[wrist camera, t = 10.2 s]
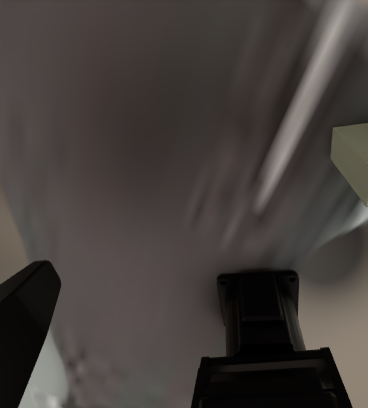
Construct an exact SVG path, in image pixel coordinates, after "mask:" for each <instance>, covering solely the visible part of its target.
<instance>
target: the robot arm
mask: <svg viewBox="0 0 368 408" xmlns="http://www.w3.org/2000/svg"><path fill="white" fill-rule="evenodd" d="M292 277H293V278H292ZM222 281H224V282H222ZM217 287H218V293H219V299H220V305H221V311H222V317H223V322H224V326H225V327H226V357H214V358H210V357H202V358H201V363H200V368H199V369H198V373H197V379H196V384H195V389H194V394H193V399H192V405H191V408H352V405H351V402H350V399H349V397H348V394H347V392H346V389H345V387H344V384H343V382H342V379H341V377H340V374H339V372H338V369H337V366H336V364H335V361H334V359H333V356H332V354H331V351H330V349H329V347H324V348H320V349H318V350H306V349H305V345H304V341H303V337H302V333H301V329H300V325H299V321H298V295H299V294H298V293H299V277H298V274H297V273H296V272H274V273H256V274H237V275H221V276H219V277H218V278H217ZM60 289H61V280H60V278H59V276H58V274H57V272H56V271H55V269H54V267H53V265H52V264H51V262H49V261H47V260H42V261H35V262H33V263H31V264H30V265H28V266H27V267H25V268H24V269H22V270H21V271H19V272H18V273H16V274H15V275H13V276H12V277H10V278H9V279H7V280H6V281H5V282H3V283H2V284H0V408H18V407H19V404H20V401H21V399H22V396H23V394H24V392H25V389H26V387H27V384H28V382H29V379H30V377H31V374H32V371H33V369H34V366H35V364H36V362H37V359H38V356H39V354H40V351H41V349H42V346H43V344H44V341H45V339H46V336H47V333H48V330H49V326H50V323H51V319H52V316H53V313H54V309H55V306H56V302H57V299H58V295H59V292H60Z"/></svg>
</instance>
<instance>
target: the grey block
mask: <svg viewBox="0 0 368 408" xmlns="http://www.w3.org/2000/svg"><path fill="white" fill-rule="evenodd" d="M330 159H331V160H332V162H333V163H334V164H335V166H336V167H337V168H338V170H339V171H340V172H341V174H342V175H343V176H344V178H345V179H346V180H347V182H348V183H349V184H350V186H351V187H352V188H353V190H354V191H355V192H356V194H357V195H358V196H359V198H360V199H361V200H362V202H363V203H364V204H365V206H366V207H368V123H363V124H355V125H348V126H340V127H333V132H332V143H331V155H330Z"/></svg>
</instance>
